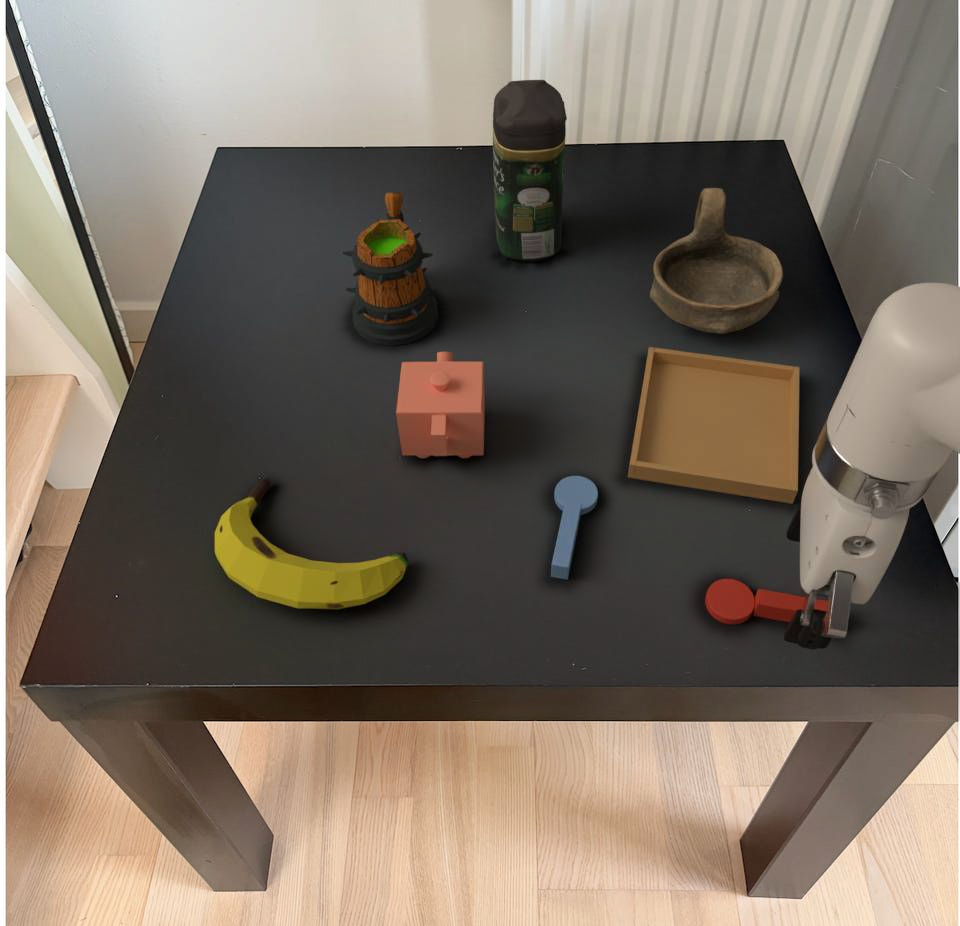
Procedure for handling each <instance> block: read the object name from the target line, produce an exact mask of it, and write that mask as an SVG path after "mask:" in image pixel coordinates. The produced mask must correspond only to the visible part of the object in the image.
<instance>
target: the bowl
mask: <svg viewBox="0 0 960 926" xmlns="http://www.w3.org/2000/svg"><path fill="white" fill-rule="evenodd" d="M726 205H727V196H726V193H725V191H724V189H723V188H720V187H706V188H703V189H702V190H701V192H700V194H699V198H698V202H697V207H696V211H695V216H694V222H693V231H692V232H690V233H689V234H688V235H686V236H684V237H682V238H679V239H677V240H676V241H674V242H672V243H671V244H669V245H668V246H667V247H665V248H664V249H662V250H661V251H660V252H659V253H658V255H657V256H656V258H655V260H654V261H653V268H652V269H653V281H652V284H651V288H650V290H649V297H650V299H651V301H652V302H653V303H654V304H655V305H656V306H657V307H658V308H659V309H660V310H661V311H662V312H663V314H665V315H666V316H667V317H668V318H669V319H671V320H672V321H674V322H676V323H677V324H680V325H682V326H685V327H687V328H690V329H693V330H697V331H701V332H705V333H712V334H718V335H719V334H720V335H725V334H729V333H733V332H737V331H741V330H743V329H747V328H749V327H751V326H752V325H754V324H756V323H758V322H759V321H761V320H762V319H763V318H765V316H767V315H768V314H769V312H770V311H771V310H772V308H773V307H774V306H775V304H776V303H777V301H778V299H779V297H780V291H779V290H778V289H779V288H780V286H781V284H782V282H783V278H784V271H783V266H782V264H781V261H780V259H779V258H778V256H777V254H776V253H775V252H774V251H772V250H771V249H769V248H768V247H766V246H765V245H762V243H759V242H758V241H756V240H752V239H748V238H744V237H741V236H735V235H730V234H728V233H727V231H726V230H725V212H726Z"/></svg>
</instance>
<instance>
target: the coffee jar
mask: <svg viewBox="0 0 960 926" xmlns="http://www.w3.org/2000/svg"><path fill="white" fill-rule="evenodd" d="M495 94H496V95H495V96H494V98H493V109H492V110H493V111H492V167H493V168H492V169H493V170H492V171H493V190H494V191H493V192H494V193H493V194H494V218H495V219H494V221H495V235H496V236H495V237H496V239H495V240H496V243H497V246H498V250H499V251H500V253H501V254H502V255H503V256H504V257H506V258H508V259H511V260H515V261H519V262H537V261H542V260H546V259H549V258H551V257H553V256H555V255H556V254H557V253H558V252H559V251H560V248H561V245H562V230H563V229H562V228H563V225H562V224H563V198H564V197H563V196H564V174H565V173H564V171H565V152H566V151H565V148H566V135H567V127H566V122H567V119H568V116H567V112H566V107H565V106H566V105H565V101H564V99H563V96H562V94H561V92H560V91H558V89H556V88H555V87H554V86H553V85H551V84H550V83H548V82H547V81H546V80H545V79H522V80H511V81H509V82H508V83H507V84H506V85H505V86H503V87H502V88H500V90H499V91H498V92H496V93H495Z"/></svg>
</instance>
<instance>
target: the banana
mask: <svg viewBox="0 0 960 926" xmlns="http://www.w3.org/2000/svg"><path fill="white" fill-rule="evenodd" d="M270 486H271V482H270V478H265V479H263V480H262V481H260V482H257V483H256V484H255V485H254V487H252V488H251V490H250V491H249V493H248V495H247V496H246V497H245V498H244V499H242V500H239V501H237V502H235V503H234V504H233V505H231V506H230V507H229V508H227V510H226V511H225V512H224V513H223V514H222V515H220V518H219V520H218V523H217V526H216V529H215V531H214V555H215V557H216V559H217V561H218V563H219V564H220V566H221V567H222V570H224V573H225V574H226V575H227V577H228V579H230V580H231V581H232V582H235V584H238V586H240V587H242V588H243V589H245V590H247V592H249V593H251V594H253V595H254V596H255V597H257V598H259V599H262V600H266V601H269V602H274V603H277V604H281V605H284V606H288V607H292V608H295V609H309V610H311V609H313V610H314V609H315V610H342V609H346V608H353V607H356V606H362V605H366V604H367V603H369V602H372V601H374V600H376V599H379V598H381V597H383V596H384V595H386V594H387V593H388V592H389V591H391V589H393V588H394V587H395V586H396V585H397V584H398V583H400V582H401V580H402V579H403V577H404V575H405V573H406V570H407V568H408V565H409V558H408V556H407V553H405V552H398V553H396V554H392V555H388V556H387V555H386V556H383V557H379V558H376V559H371V560H365V561H359V562H333V561H332V562H331V561H319V560H313V559H308V558H306V557H302V556H297V555H294V554H291V553H287V552H286V551H285V550H283V549H281V548H279V547H277V546H276V545H274V544H272V543H271V542H270V541H268V540H267V539H266V538H265V537H264V536H263V535H262V534H261V533H260V532H259V530H258V529H257V528H256V527H255V526H254V524H253V522H252V520H251V518H252V515H253V513H254V511H255V509H256V507H257V506H258V505H259V503H260V502H261V501H262V499H263V498H264V496H265V495H266V493H267V491H268V489H269V488H270Z"/></svg>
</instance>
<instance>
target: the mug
mask: <svg viewBox="0 0 960 926" xmlns="http://www.w3.org/2000/svg"><path fill="white" fill-rule="evenodd" d="M384 200H385V201H384V202H385V205H386V210H387V213H386V219H377V220H375V221H374V222H373V223H372V224H370V226H368V227H367V228H365V229H364V230H363V231H362V232H360V234H359V235H358V237H357V239H356V244H355V245H354V246H353V250H348V251H343V252H342V255H345V256H347V257H351V261H352V265H353V267H354V269H355V272H354V273H353V274H352V276H353V277H357V281H356V285H355V287H346V288H345V291H346V292H350V293H352V294H354V305H353V307H352V322H353V327H354V328H355V330H356V332H357V333H358V334H359V335H360V337H362V338H363V339H365V340H367V341H369V342H370V343H372V344H376V345H382V346H388V347H393V346H401V345H402V346H403V345H409V344H410V343H414V342H416V341H419V340H421V339H423V338H424V337H426V336H427V335H428V334H429V333H431V331H433V330H434V328H435V326H436V324H437V321H438V319H439V310H438V303H437V300H436V298H435V297H434V296H433V295H435V294H439V293H440V290H439V289H431V285H430V282H429V280H428V279H427V277H426V274H425V272H426V271H427V270H428V268H427V267H422V265H423V260H424V259H427V258H431V257H433V253H432V252H431V253H430V252H424V250H423V247H422V245H421V243H420V241H419V239H418V238H419V237H420V236H421V235H422V233H421V232H420V231H419V232H418V233H414V232H413V231H412V230H411V229H410V228H409V226H408V225H407V224H406V223H405V219H404V214H403V212H402V206H403V202H404V196H403V193H402V192H386V193H385V196H384Z"/></svg>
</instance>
